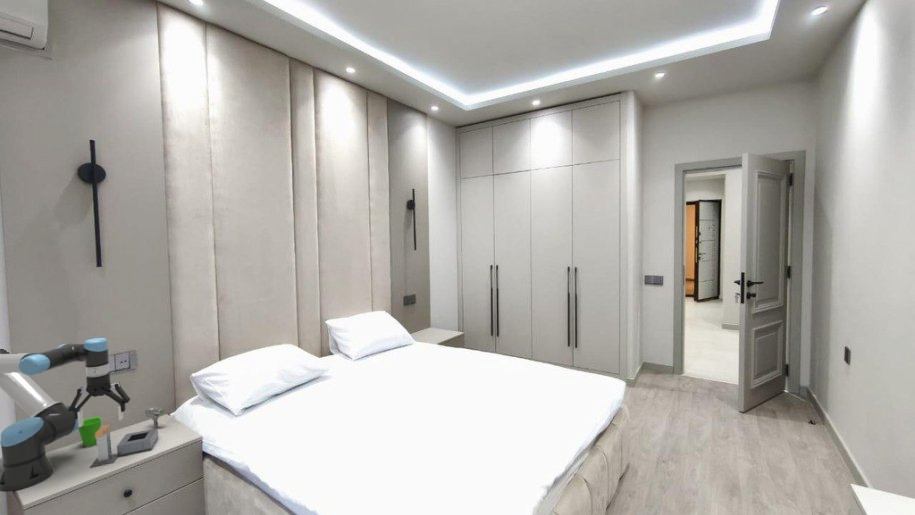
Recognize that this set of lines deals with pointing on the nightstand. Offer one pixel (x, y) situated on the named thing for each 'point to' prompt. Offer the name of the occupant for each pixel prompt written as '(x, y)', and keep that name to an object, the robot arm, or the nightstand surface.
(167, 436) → the nightstand surface
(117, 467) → the nightstand surface
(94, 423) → the cup
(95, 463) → the mat
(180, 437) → the nightstand surface
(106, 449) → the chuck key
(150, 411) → the mechanical component
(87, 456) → the nightstand surface
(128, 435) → the chuck block
